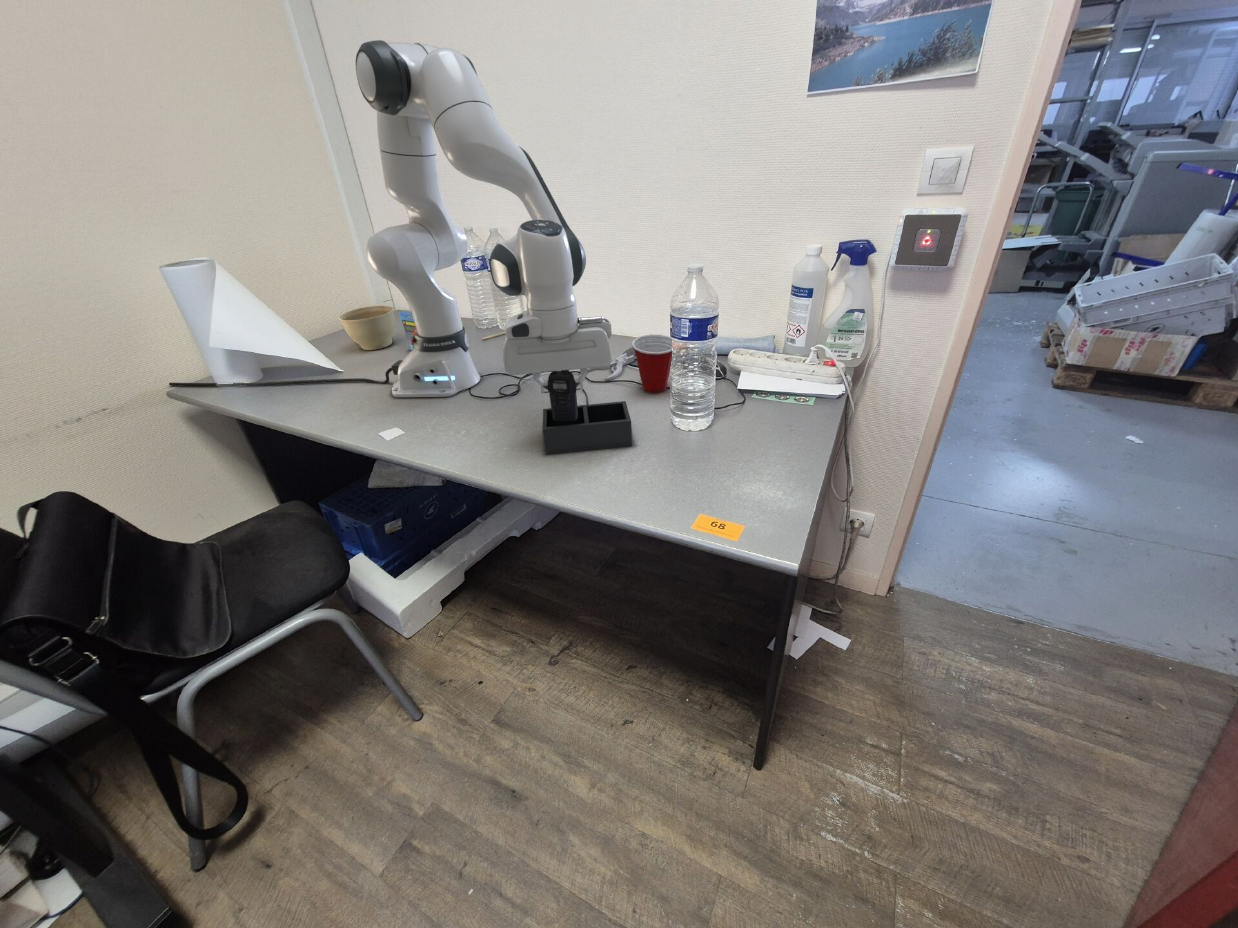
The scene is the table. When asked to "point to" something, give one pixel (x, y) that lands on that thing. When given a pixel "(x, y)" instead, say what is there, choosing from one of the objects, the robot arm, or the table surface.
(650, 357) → the plastic cup
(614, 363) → the pliers
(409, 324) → the tape cartridge
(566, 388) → the two-way radio
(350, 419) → the table surface
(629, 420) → the box
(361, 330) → the planter bowl
